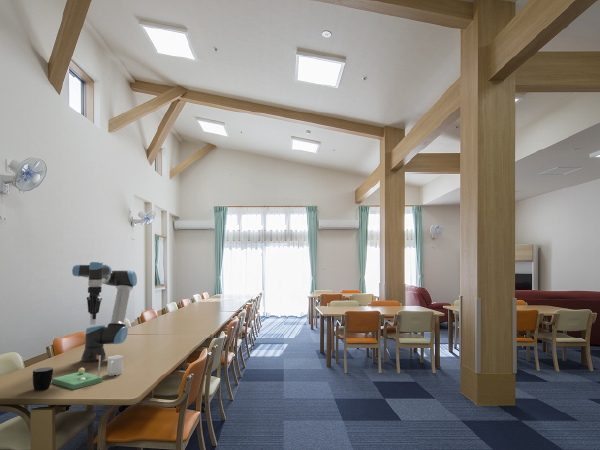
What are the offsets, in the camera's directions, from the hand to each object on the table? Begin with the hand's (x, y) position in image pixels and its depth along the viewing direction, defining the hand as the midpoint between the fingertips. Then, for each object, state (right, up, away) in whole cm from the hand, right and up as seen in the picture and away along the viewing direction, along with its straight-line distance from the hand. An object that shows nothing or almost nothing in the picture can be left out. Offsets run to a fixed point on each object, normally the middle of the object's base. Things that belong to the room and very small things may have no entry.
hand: (92, 324), depth 234 cm
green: (+4, -27, -22) cm, 35 cm away
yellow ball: (+1, -24, -14) cm, 27 cm away
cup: (+17, -29, -8) cm, 34 cm away
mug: (-8, -26, -35) cm, 44 cm away
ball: (+8, -25, -25) cm, 36 cm away
